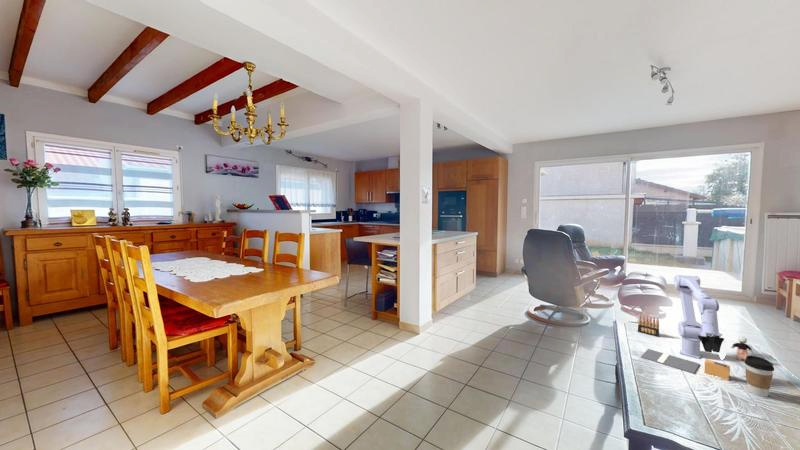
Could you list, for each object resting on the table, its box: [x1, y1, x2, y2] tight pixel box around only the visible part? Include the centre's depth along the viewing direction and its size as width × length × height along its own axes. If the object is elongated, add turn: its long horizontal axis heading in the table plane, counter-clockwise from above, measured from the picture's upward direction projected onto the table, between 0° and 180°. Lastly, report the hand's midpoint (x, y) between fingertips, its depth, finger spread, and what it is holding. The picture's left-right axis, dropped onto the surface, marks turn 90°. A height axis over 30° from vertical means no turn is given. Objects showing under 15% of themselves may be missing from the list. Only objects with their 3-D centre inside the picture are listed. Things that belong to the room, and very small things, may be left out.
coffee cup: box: [743, 355, 775, 398], centre depth 130 cm, size 8×8×15 cm
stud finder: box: [704, 359, 731, 381], centre depth 144 cm, size 4×8×6 cm, turn 37°
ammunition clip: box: [637, 314, 660, 338], centre depth 192 cm, size 11×2×12 cm, turn 38°
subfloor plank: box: [640, 348, 700, 375], centre depth 158 cm, size 14×21×1 cm, turn 37°
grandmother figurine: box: [730, 336, 754, 362], centre depth 158 cm, size 8×4×13 cm, turn 54°
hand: (712, 352), depth 144 cm, fingers open, 7 cm apart
